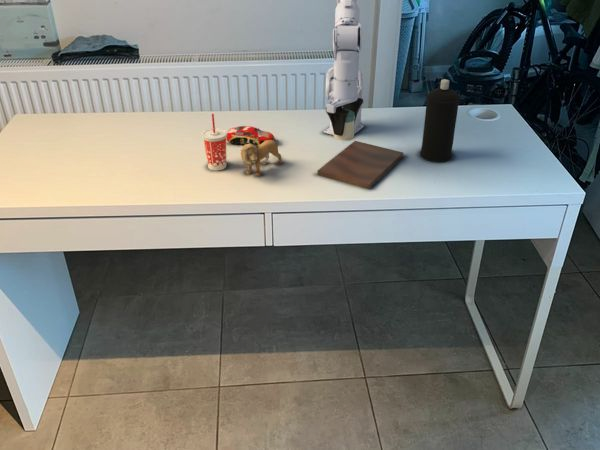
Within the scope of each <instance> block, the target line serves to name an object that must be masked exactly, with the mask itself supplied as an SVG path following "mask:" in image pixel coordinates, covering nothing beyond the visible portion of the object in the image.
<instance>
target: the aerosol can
mask: <svg viewBox="0 0 600 450" xmlns="http://www.w3.org/2000/svg"><path fill="white" fill-rule="evenodd" d="M425 98H426V105H425V114H424V122H423V123H424V124H423V131H422V140H421V141H422V142H421V150H420V151H419V156H420V157H421V158H422V159H423V160H426V161H429V162H432V163H445V162H447V161H450V160H452V158H453V152H452V151H453V146H454V139H455V132H456V124H457V118H458V110H459V103H460V101H461V97H460V95H458V93H457V92H456V91H455V90H453V89H451V88H450V80H449V79H446V78H443V79H441V80H440V86H439V87H437V88H434V89H432V90H431V91H429V93H427V94H426V96H425Z"/></svg>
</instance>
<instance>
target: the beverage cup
mask: <svg viewBox="0 0 600 450" xmlns="http://www.w3.org/2000/svg"><path fill="white" fill-rule="evenodd" d="M211 121H212V128H209V129H205V130H204V131H202V133H201V138H202V140H203V144H204V150H205V156H206V162H207V167H208V169H209V170H211V171H222V170H225V169H226V168H227V140H226V139H227V138H226V137H227V132H228V131H227V130H225V129H223V128H218V127H216V126H215V125H216V124H215V113H211Z"/></svg>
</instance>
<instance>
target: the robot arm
mask: <svg viewBox="0 0 600 450" xmlns="http://www.w3.org/2000/svg"><path fill="white" fill-rule="evenodd" d="M357 1H358V0H335V2H336V6H335V10H334V28H333V29H332V50H333V66H331V68H329V69H328V70H327V71H326V78H325V99H326V100H327V101H328V103H326V106H325V113H326V114H327V116H328V118H329V127H327V128H326V129H324V130H323V133H324V134H327V135H331V136H334V134H335V135H339V136H342V135H343V133H344V127H345V121H346V118H347V115H348V113H349V111H348V110H351V111H353V112H354V113H355V119H354V135H355V134H357V133H358V132H359V131H361V130H362V129H363V128H364V124H362V109H363V108H362V107H363V106H362V105H363V104H364V99H363V89H364V87H363V86H364V85H363V73H362V70H360V68H359V62H360V61H359V59H360V52H361V49H362V43H363V30H362V29H363V28H362V25H361V21H360V19H361V18H360V17H361V16H360V6H359V5H358V4H357Z"/></svg>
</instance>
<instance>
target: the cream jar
mask: <svg viewBox="0 0 600 450" xmlns="http://www.w3.org/2000/svg"><path fill="white" fill-rule="evenodd" d="M348 111H349V113H348V115H347V118H346V121H345V127H344V133H343V135H342V136H339V135H335V134H334V135H333V138H334V139H336V140H338V141H350V140H352V139H353V138H354V136H355V134H354V119H355V113H354V112H353V111H351V110H348Z"/></svg>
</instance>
